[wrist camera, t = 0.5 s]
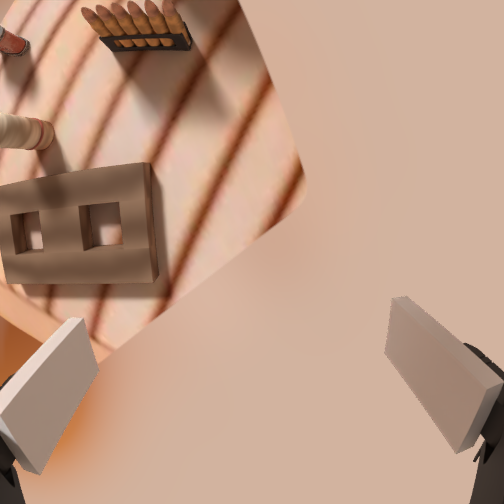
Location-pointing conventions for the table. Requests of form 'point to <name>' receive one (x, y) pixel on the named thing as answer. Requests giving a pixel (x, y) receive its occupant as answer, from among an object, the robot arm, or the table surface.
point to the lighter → (12, 43)
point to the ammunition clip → (139, 27)
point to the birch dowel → (24, 132)
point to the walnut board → (79, 228)
